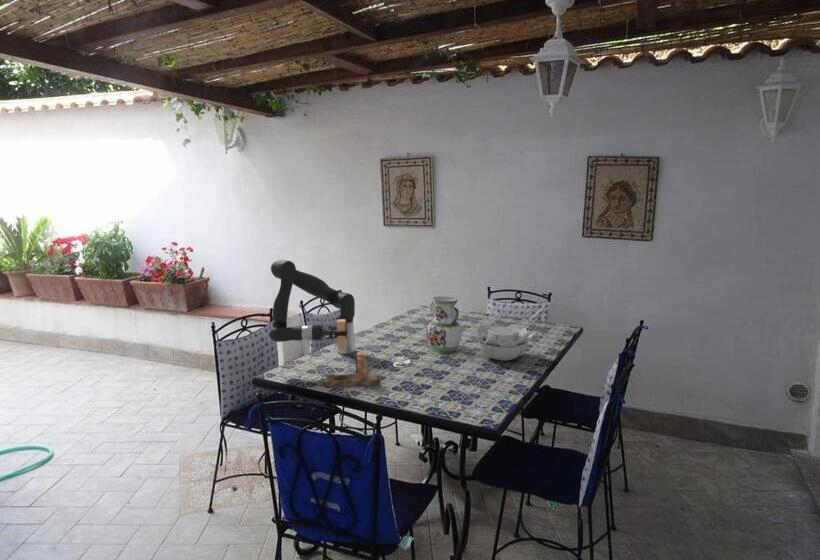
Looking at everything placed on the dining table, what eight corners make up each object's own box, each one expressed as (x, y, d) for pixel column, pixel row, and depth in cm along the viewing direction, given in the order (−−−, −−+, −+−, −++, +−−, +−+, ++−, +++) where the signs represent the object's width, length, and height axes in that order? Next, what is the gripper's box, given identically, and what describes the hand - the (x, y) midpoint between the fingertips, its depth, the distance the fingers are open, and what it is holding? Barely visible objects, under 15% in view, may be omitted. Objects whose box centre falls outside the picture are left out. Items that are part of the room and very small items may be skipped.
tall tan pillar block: (337, 349, 254) (336, 321, 252) (338, 346, 258) (337, 319, 256) (347, 349, 255) (346, 321, 252) (347, 346, 259) (346, 319, 256)
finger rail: (325, 386, 238) (323, 357, 236) (326, 380, 246) (325, 352, 244) (377, 384, 240) (376, 355, 237) (377, 378, 247) (376, 350, 245)
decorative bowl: (540, 354, 278) (541, 327, 275) (519, 371, 254) (520, 341, 251) (488, 345, 295) (489, 319, 292) (464, 360, 270) (464, 332, 268)
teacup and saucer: (412, 363, 269) (411, 355, 268) (407, 368, 261) (407, 360, 261) (395, 362, 271) (395, 354, 270) (391, 367, 264) (391, 359, 263)
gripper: (309, 329, 247) (346, 328, 247) (313, 321, 261) (347, 320, 261) (310, 344, 248) (346, 343, 249) (314, 336, 262) (348, 335, 263)
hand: (347, 332), depth 255 cm, fingers closed on tall tan pillar block, 4 cm apart
